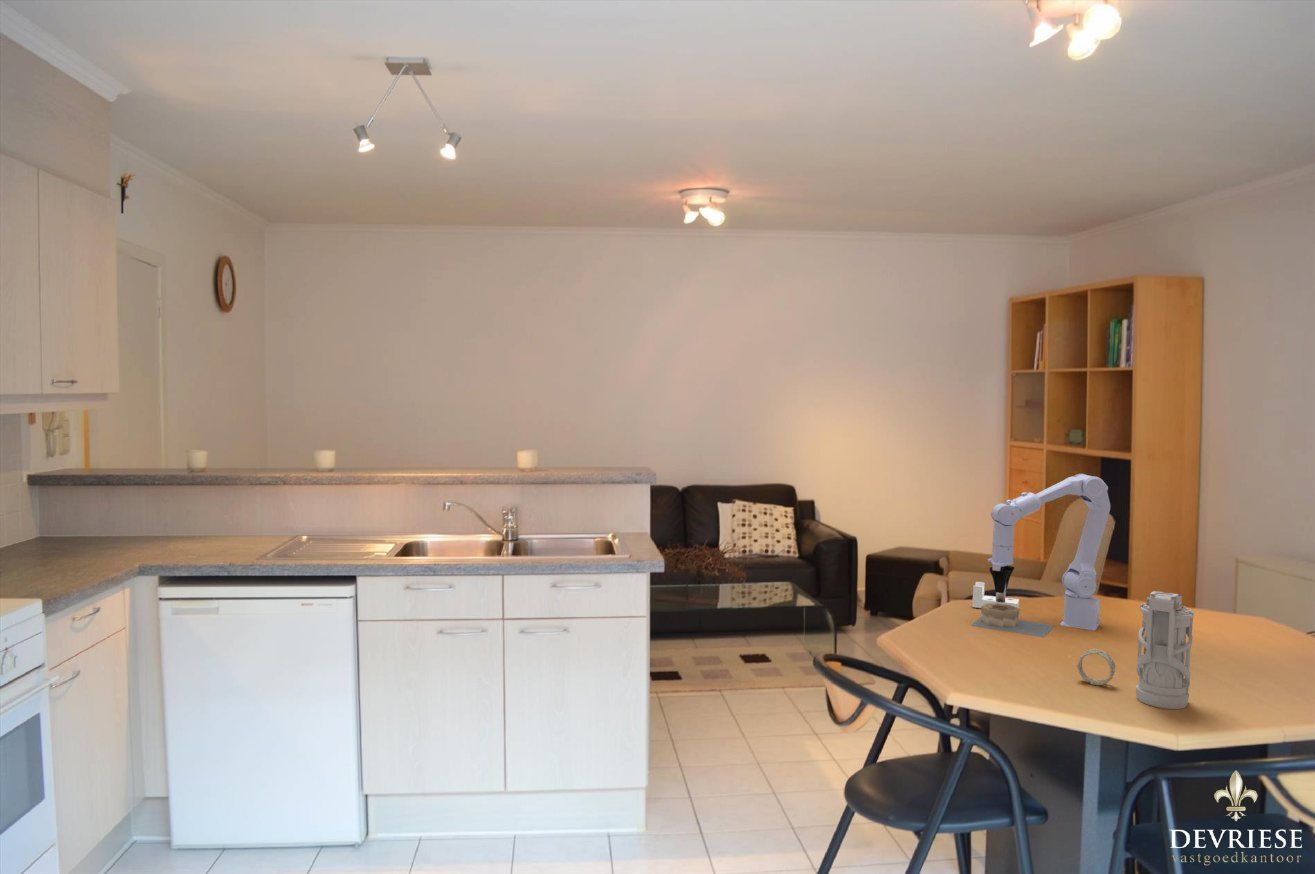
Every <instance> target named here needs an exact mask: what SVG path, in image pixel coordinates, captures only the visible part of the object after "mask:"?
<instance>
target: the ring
mask: <svg viewBox="0 0 1315 874" xmlns="http://www.w3.org/2000/svg"><path fill="white" fill-rule="evenodd" d="M980 609H981V610H980V611H981V612H980V614H981V615H980V618H981V622H984V623H986V624H988V625H993V626H1000V627H1015V626H1016V625H1017V624H1018V620H1019V615H1020V607H1019V608H1017V607H1014V606H1012V605H1006V604H999V603H989V604H984V605H982V607H981V608H980Z"/></svg>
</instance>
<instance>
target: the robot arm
mask: <svg viewBox="0 0 1315 874" xmlns="http://www.w3.org/2000/svg"><path fill="white" fill-rule="evenodd" d="M1108 491H1109V486H1108V485H1107V484H1106V482H1104V480H1103V479H1102V478H1100V477H1098V476H1094V475H1093V476H1092V475H1087V474H1085V473H1078V474H1075V475H1072V476H1069V477H1067V478H1064V480H1061V481H1060V482H1058V483H1056V484H1053V485H1051V486H1050V487H1047V488H1045V489H1043V490H1041V491H1039V492H1037V493H1033V492H1030V491H1029V492H1026V491H1024V492H1022V493H1020V494H1021V495H1020V496H1017V497H1016V498H1013V499H1007V500H1006V501H1005V502H1006V503H998V504H996V505H995V506H994V507H993V508H992V511H991V512H990V517H991V519H992V521H993V529H992V552H991V557H990V558H988V559H987V562H988V563H989V562H990V563H991V564H992V566H991V567H989V572H990V575H991V576H992V579H993V586H994V591H995V593H996V592H997V593H1004V590H1005V585H1006V591H1007V589H1008V586H1009V582H1010V578H1011V576H1012V573H1013V572H1014V570H1015V566H1013V565H1014V562H1015V561H1014V546H1015V542H1014V540H1015V524H1017V522H1018V520H1020V519H1023V518H1024V517H1026V516H1029V515H1031V514H1033V513H1035V512H1038V511H1040V509H1041V507H1042V505H1043V504H1046V503H1048V502H1052V501H1054V500H1056V499H1058V498H1061V497H1064V496H1066V495H1073V496H1078V497H1079V498H1080V499H1082V501H1083V502H1084V503H1085V505H1086V506H1087V508H1088V512H1087V515H1086V517H1085V521H1084V522H1085V523H1084V526H1083V528H1082V531H1081V532H1082V533H1081V536H1080V540H1079V543H1078V546H1077V549H1076V554H1075V556H1074V557H1075V558H1074V560H1073V561H1072V562H1071V563H1069V565H1068V568H1067V570H1066V571H1065V572H1064V573H1063V574H1062V577H1061V584H1062V586H1063V587H1064V588H1065V591H1064V603H1063V604H1064V606H1063V620H1062V621H1061V622H1060V624H1059V626H1061V627H1069V628H1073V629H1074V628H1075V629H1082V630H1089V631H1097V629H1098V628H1099V626H1100V609H1101V599H1100V598H1098V597H1093V595H1094V594H1095V592H1096V590H1097V582H1096V578H1097V574H1098V573H1097V571H1096V569H1095V563H1096V560H1097V557H1098V552H1099V550H1100V547H1101V543H1102V539H1103V536H1104V532H1105V529H1106V525H1107V521H1108V519H1109V515H1110V511H1111V502H1110V498H1109V494H1108V493H1109V492H1108ZM1011 565H1012V566H1011Z"/></svg>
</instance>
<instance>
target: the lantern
mask: <svg viewBox="0 0 1315 874" xmlns="http://www.w3.org/2000/svg"><path fill="white" fill-rule="evenodd" d="M1149 594H1150V596H1147V597H1146V600H1145V602H1142V603H1141V604H1140V605H1139V611H1140V612H1141V613H1142V623H1141V627H1140V629H1139V630H1138V640H1137V641H1138V642H1137V655H1136V656H1137V657H1136V658H1137V659H1136V673H1137V675H1138V677H1139V680H1138V684H1136V686H1135V695H1136V699H1137V700H1138V701H1139V702H1140V703H1143V704H1145V705H1147V706H1151V707H1156V708H1161V709H1167V710H1180V709H1184V708H1186V707H1187V705H1188V703H1189V696H1190V694H1189V687H1190V683H1191V671H1190V665H1191V664H1190V663H1191V648H1192V644H1193V624H1194V623H1193V621H1194V614H1195V611H1194V610H1193V609H1191V608H1190V607H1186V606H1184V605H1183V606H1182V603H1183V602H1182V601H1183V595H1182V594H1179V593H1173V592H1172V593H1171V592H1169V593H1168V592H1163V591H1157V590H1155V591H1151V592H1150V593H1149ZM1143 636H1144V638H1143ZM1186 637H1188V640H1187V638H1186ZM1186 640H1187V641H1186ZM1142 647H1143V654H1142Z"/></svg>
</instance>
